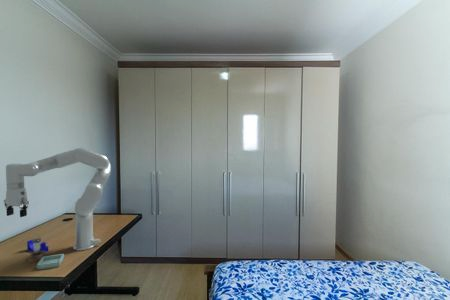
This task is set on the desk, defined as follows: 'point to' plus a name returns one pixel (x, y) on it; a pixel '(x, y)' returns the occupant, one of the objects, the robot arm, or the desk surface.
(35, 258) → the socket
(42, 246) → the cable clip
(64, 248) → the desk surface
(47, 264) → the tray
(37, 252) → the flashlight
